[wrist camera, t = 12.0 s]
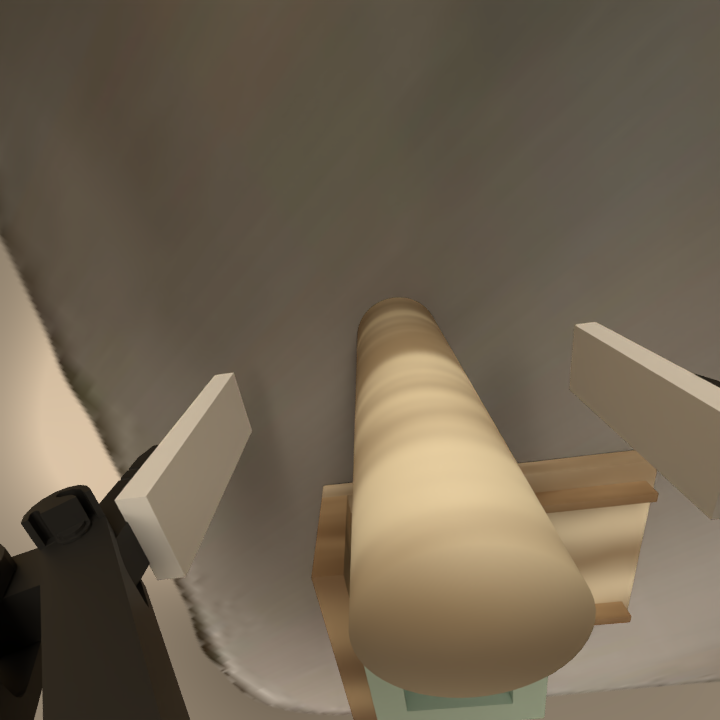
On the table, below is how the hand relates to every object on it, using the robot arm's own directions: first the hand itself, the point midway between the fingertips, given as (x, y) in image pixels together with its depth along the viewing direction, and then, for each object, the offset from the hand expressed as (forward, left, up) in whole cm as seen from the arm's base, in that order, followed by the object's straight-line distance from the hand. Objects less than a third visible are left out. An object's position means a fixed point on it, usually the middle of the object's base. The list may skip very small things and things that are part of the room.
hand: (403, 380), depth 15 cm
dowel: (0, 0, -5) cm, 5 cm away
